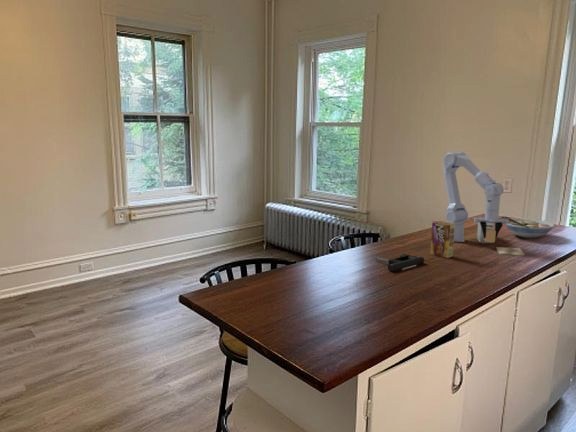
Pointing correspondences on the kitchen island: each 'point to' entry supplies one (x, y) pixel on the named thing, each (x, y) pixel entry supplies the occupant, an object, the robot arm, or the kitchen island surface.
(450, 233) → the candy box
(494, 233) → the tan rectangular block
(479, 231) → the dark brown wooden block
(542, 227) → the ramen bowl
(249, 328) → the kitchen island surface
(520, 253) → the pad
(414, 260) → the door handle
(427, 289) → the kitchen island surface
